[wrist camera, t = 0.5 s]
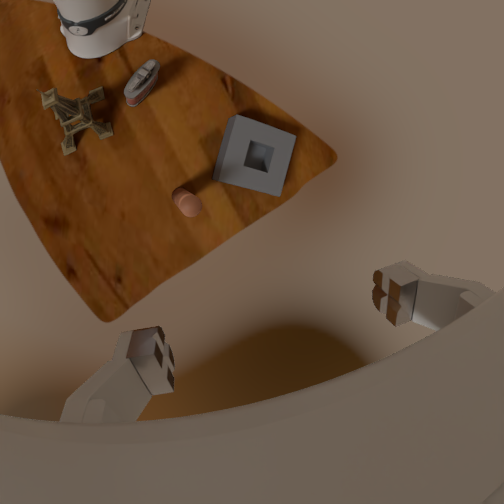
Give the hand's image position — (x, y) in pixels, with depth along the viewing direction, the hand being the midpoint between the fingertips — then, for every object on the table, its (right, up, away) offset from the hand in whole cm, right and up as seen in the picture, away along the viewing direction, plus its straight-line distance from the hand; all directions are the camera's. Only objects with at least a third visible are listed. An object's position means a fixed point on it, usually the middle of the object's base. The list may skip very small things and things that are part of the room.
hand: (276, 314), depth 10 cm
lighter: (-22, +33, +33) cm, 51 cm away
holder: (-1, +22, +45) cm, 50 cm away
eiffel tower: (-33, +27, +30) cm, 52 cm away
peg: (-15, +13, +42) cm, 47 cm away
